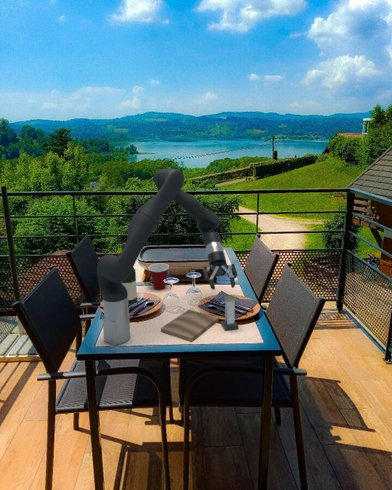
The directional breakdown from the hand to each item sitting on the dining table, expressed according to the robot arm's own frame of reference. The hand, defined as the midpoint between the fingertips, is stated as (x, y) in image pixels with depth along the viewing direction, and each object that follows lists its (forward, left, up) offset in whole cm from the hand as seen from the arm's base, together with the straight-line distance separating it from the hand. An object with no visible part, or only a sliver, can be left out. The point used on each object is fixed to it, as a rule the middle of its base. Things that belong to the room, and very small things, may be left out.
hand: (223, 288), depth 153 cm
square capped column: (-5, -6, -14) cm, 16 cm away
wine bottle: (-11, +44, -14) cm, 48 cm away
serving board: (-13, +8, -14) cm, 21 cm away
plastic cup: (+13, +45, -14) cm, 49 cm away
